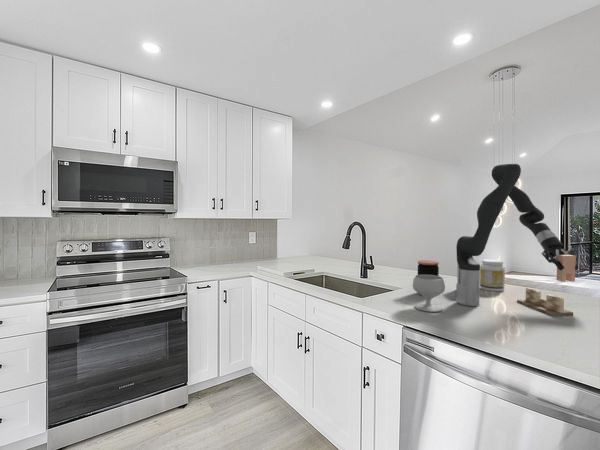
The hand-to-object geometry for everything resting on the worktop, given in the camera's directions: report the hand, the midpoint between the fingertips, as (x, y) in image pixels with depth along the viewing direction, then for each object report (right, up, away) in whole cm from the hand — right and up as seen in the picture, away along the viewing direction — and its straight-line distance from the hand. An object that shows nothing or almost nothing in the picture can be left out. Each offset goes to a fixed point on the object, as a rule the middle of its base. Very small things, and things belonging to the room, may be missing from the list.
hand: (569, 269), depth 139 cm
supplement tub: (-12, -18, +38) cm, 43 cm away
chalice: (-64, -19, +3) cm, 67 cm away
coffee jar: (-54, -18, +28) cm, 63 cm away
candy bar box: (-31, -18, +32) cm, 48 cm away
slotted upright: (0, -6, +2) cm, 6 cm away
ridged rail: (-10, -19, +2) cm, 21 cm away
